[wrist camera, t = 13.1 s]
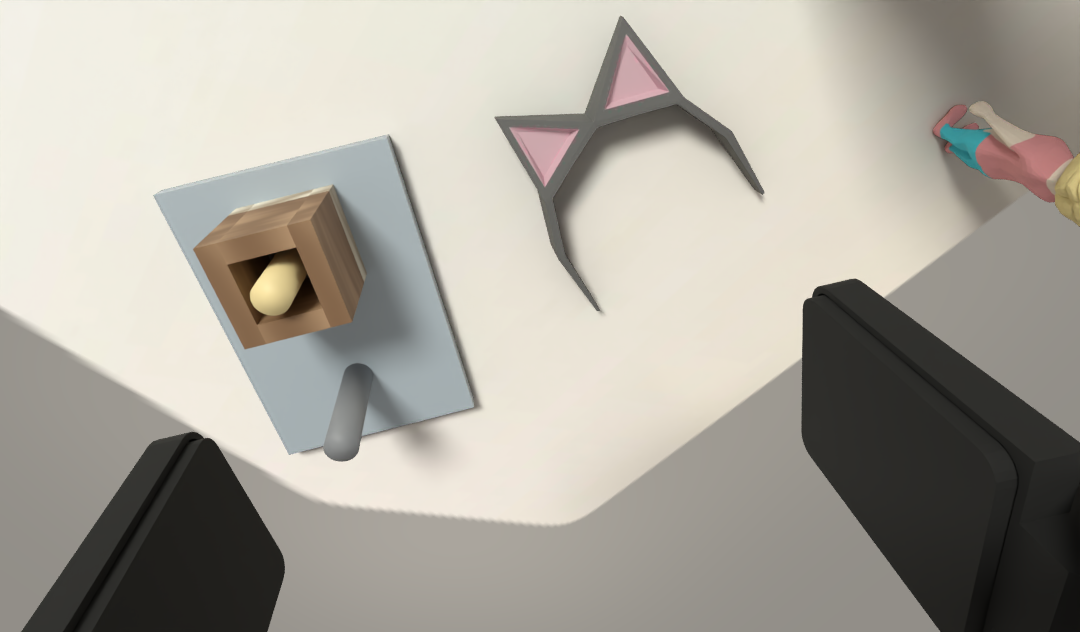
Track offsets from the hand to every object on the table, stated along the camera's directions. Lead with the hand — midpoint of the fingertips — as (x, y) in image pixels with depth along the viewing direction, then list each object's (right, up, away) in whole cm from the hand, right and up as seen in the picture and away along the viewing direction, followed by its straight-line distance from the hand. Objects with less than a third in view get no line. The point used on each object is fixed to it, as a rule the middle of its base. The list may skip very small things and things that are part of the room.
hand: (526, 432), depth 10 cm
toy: (+28, +14, +33) cm, 45 cm away
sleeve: (-15, +7, +29) cm, 33 cm away
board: (-14, +3, +32) cm, 35 cm away
